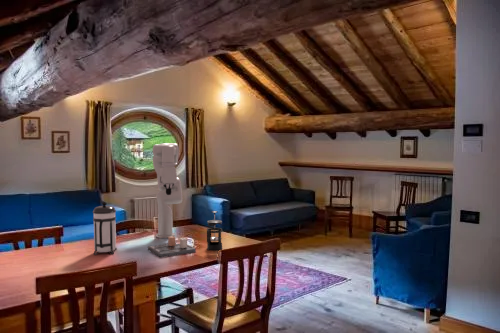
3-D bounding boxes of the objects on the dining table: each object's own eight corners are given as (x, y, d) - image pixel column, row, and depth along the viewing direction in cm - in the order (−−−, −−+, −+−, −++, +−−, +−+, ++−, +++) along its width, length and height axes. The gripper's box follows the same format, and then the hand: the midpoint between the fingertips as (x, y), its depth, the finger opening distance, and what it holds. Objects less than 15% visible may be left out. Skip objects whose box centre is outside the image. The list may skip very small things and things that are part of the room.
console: (147, 250, 257) (147, 245, 256) (181, 245, 269) (181, 240, 268) (160, 257, 240) (160, 252, 240) (195, 252, 252) (195, 247, 252)
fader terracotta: (168, 244, 259) (168, 236, 259) (172, 244, 261) (172, 235, 261) (170, 246, 256) (170, 237, 256) (175, 245, 258) (175, 237, 257)
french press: (226, 248, 259) (226, 211, 258) (214, 251, 252) (214, 213, 251) (213, 245, 267) (213, 209, 266) (202, 248, 261) (201, 211, 259)
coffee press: (85, 253, 250) (84, 202, 248) (110, 247, 262) (109, 199, 260) (100, 258, 238) (99, 205, 236) (125, 252, 250) (124, 202, 248)
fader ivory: (179, 246, 255) (179, 238, 255) (184, 246, 257) (184, 237, 256) (182, 248, 252) (182, 239, 251) (187, 247, 253) (187, 238, 253)
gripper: (177, 164, 271) (177, 193, 272) (154, 165, 263) (154, 194, 264) (181, 165, 265) (182, 194, 266) (159, 166, 257) (159, 196, 258)
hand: (168, 194), depth 265 cm, fingers closed
